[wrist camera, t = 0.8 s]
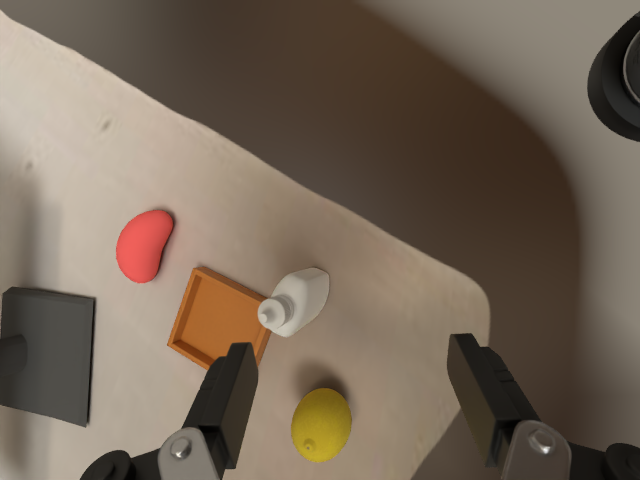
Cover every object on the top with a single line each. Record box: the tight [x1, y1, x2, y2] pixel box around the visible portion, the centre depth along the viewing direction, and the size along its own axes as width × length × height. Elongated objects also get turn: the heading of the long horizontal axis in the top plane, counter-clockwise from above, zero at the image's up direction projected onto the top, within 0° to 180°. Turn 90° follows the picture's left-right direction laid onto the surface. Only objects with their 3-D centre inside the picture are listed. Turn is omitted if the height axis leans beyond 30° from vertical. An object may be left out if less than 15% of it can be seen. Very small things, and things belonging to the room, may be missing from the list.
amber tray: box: [167, 267, 271, 370], centre depth 37 cm, size 11×10×2 cm
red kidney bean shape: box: [116, 210, 173, 283], centre depth 39 cm, size 5×9×6 cm
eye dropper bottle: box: [258, 267, 330, 337], centre depth 29 cm, size 4×6×12 cm
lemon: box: [291, 388, 352, 462], centre depth 30 cm, size 6×6×8 cm
